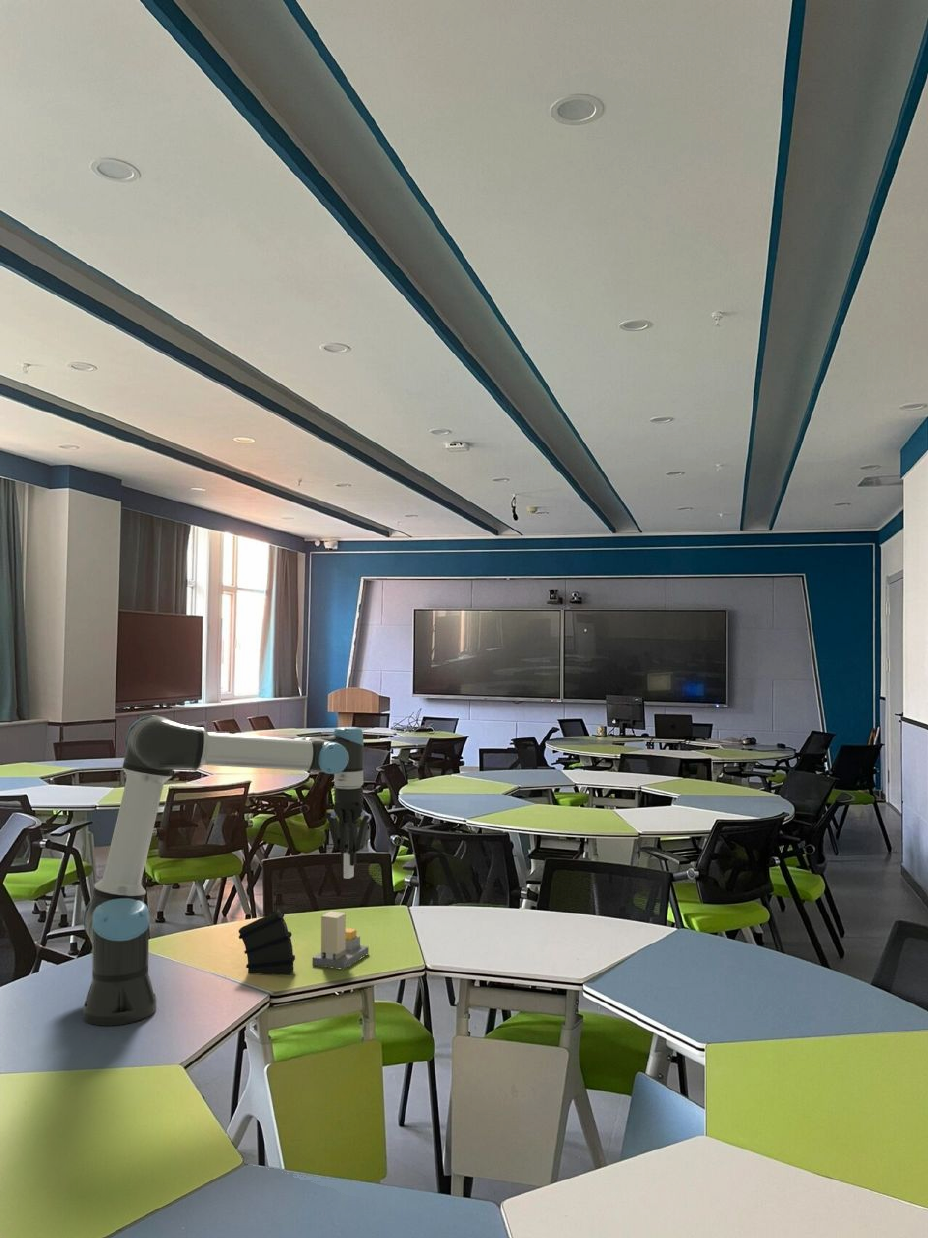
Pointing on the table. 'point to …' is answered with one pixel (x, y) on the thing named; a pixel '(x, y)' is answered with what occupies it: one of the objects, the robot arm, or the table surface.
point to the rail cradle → (352, 954)
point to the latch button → (350, 934)
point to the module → (333, 934)
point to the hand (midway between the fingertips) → (348, 877)
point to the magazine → (268, 945)
